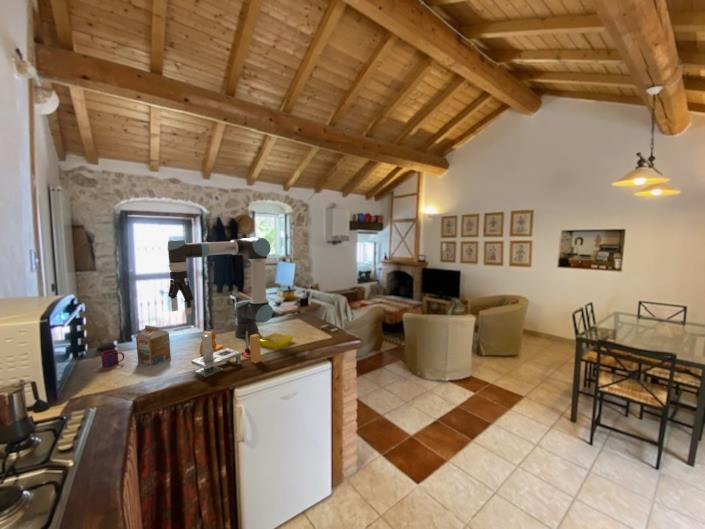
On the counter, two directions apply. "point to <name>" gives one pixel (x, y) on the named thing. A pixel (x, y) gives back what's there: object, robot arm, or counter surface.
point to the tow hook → (246, 348)
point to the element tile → (276, 341)
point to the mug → (110, 358)
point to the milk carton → (152, 346)
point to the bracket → (214, 346)
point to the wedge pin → (255, 348)
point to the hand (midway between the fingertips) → (181, 312)
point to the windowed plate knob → (213, 357)
